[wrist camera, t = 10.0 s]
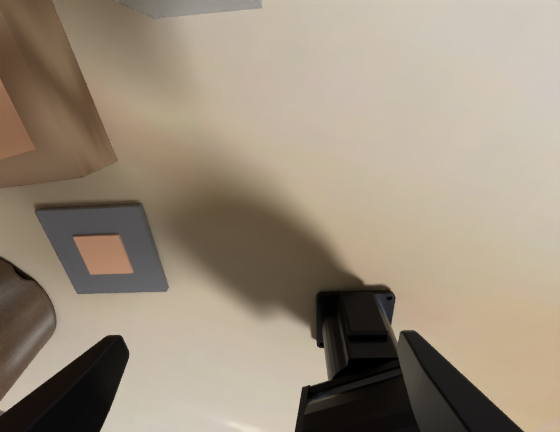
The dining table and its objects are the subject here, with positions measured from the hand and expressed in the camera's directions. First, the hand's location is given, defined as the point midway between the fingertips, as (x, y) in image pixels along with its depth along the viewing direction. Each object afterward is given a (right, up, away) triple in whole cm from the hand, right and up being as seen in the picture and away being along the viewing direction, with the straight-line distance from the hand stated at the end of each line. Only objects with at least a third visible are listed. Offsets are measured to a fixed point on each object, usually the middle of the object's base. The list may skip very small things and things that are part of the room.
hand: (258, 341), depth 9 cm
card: (-13, +1, +13) cm, 19 cm away
